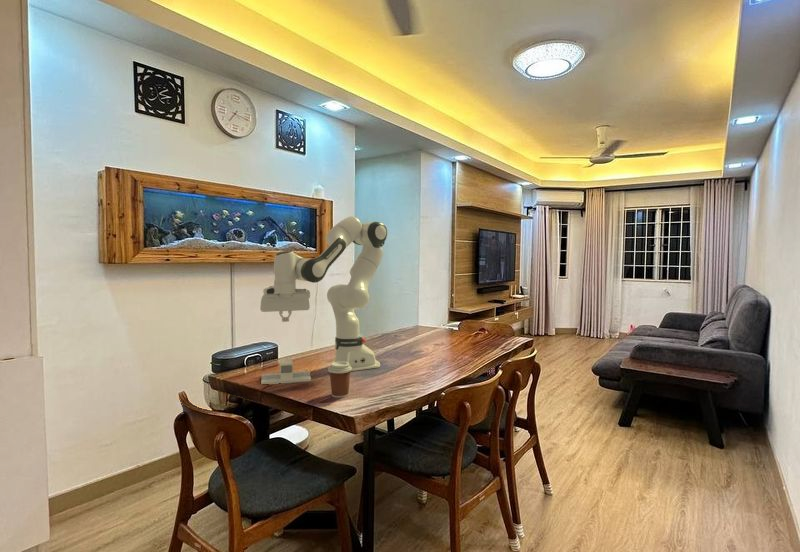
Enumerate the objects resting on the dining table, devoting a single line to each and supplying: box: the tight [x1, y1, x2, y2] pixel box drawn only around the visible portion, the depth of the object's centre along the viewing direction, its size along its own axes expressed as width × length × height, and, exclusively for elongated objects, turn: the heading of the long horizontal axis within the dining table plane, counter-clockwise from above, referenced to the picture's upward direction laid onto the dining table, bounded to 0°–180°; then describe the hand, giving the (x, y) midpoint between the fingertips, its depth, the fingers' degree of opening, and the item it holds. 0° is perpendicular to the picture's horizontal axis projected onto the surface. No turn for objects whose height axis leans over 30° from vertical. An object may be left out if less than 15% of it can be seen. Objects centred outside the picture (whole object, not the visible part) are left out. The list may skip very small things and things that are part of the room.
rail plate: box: [260, 370, 312, 386], centre depth 180 cm, size 20×12×2 cm, turn 107°
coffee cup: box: [327, 361, 353, 399], centre depth 159 cm, size 9×9×12 cm
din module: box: [279, 357, 294, 380], centre depth 179 cm, size 5×9×7 cm, turn 17°
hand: (285, 321), depth 179 cm, fingers closed
